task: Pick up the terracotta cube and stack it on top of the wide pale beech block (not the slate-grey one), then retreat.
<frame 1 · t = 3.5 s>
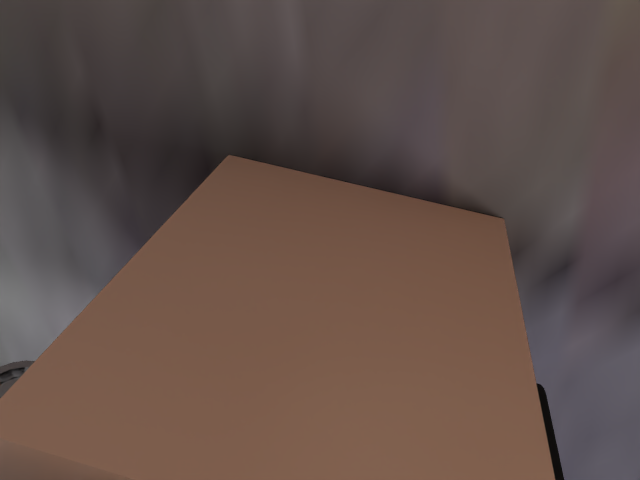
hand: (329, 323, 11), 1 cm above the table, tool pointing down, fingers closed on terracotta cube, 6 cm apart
terracotta cube: (339, 291, 12), on the table, touching gripper
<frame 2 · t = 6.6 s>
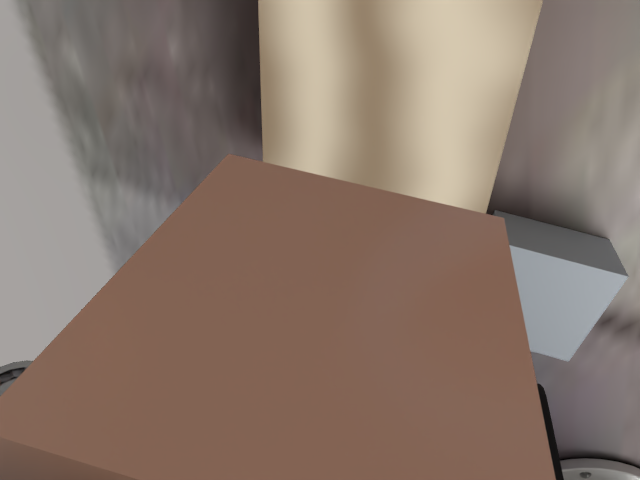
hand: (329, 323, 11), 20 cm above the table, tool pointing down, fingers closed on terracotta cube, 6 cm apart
slate block: (527, 266, 32), on the table
terracotta cube: (339, 290, 12), point 18 cm above the table, touching gripper
beech block: (391, 69, 27), on the table
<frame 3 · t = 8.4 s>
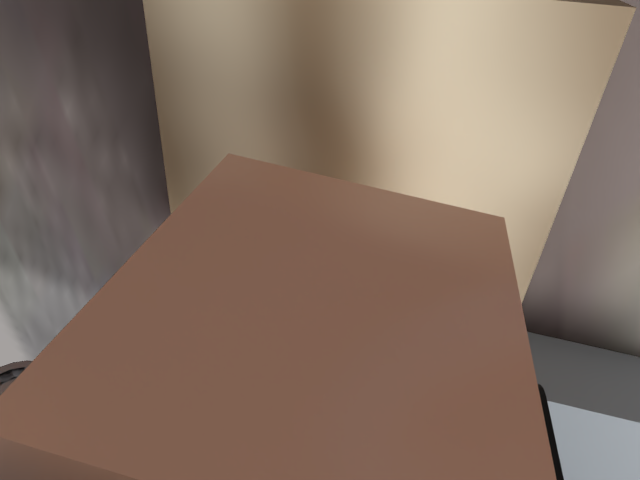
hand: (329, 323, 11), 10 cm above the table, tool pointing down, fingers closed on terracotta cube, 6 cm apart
slate block: (554, 391, 24), on the table
terracotta cube: (339, 290, 12), point 8 cm above the table, touching gripper
beech block: (367, 142, 19), on the table
when the fingers open (6 cm above the table, at t = 9.8 s): terracotta cube stays where it is, resting on beech block.
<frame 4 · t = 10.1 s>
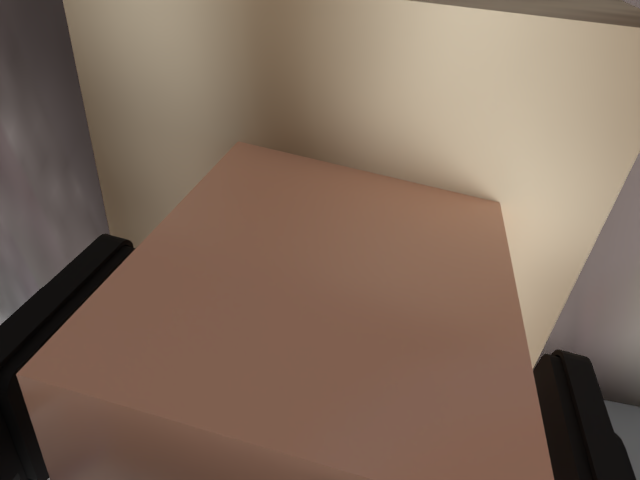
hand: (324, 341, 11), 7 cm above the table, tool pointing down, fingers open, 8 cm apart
slate block: (567, 446, 21), on the table
terracotta cube: (342, 274, 12), point 5 cm above the table, touching beech block
beech block: (352, 171, 16), on the table, touching terracotta cube
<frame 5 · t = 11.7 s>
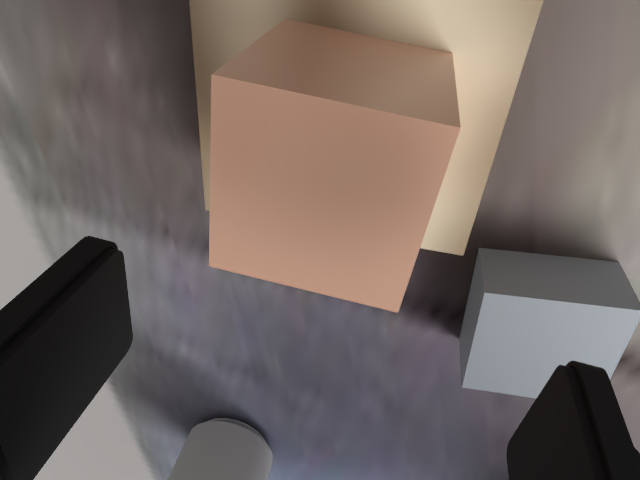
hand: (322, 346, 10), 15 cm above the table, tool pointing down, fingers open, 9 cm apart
slate block: (531, 301, 28), on the table
can: (235, 437, 42), on the table
terracotta cube: (352, 116, 19), point 4 cm above the table, touching beech block
beech block: (360, 68, 22), on the table, touching terracotta cube
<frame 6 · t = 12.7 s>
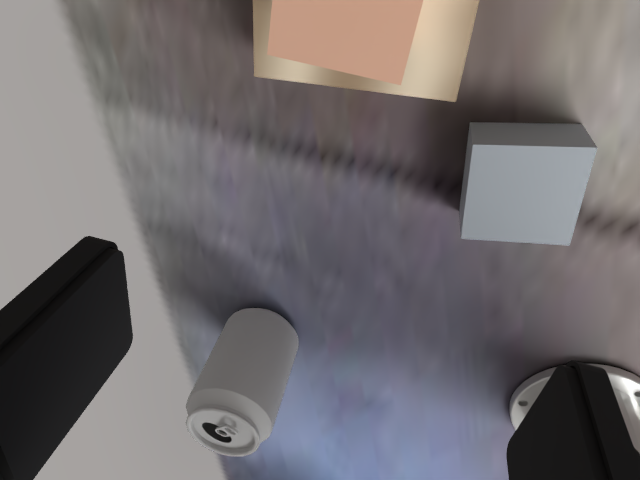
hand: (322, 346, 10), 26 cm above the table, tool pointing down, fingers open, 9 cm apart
slate block: (515, 169, 34), on the table
can: (265, 328, 48), on the table
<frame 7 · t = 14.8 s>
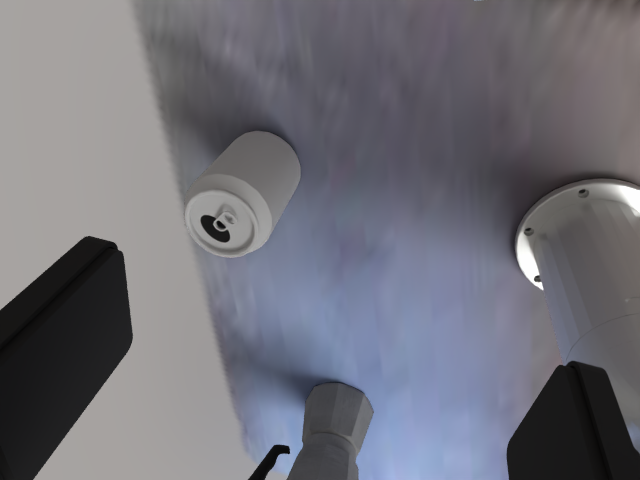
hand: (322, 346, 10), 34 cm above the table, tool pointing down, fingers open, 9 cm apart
can: (266, 163, 48), on the table
coffeepot: (332, 402, 65), on the table
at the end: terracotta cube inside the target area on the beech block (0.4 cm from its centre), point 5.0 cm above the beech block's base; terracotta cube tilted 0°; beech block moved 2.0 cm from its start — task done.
